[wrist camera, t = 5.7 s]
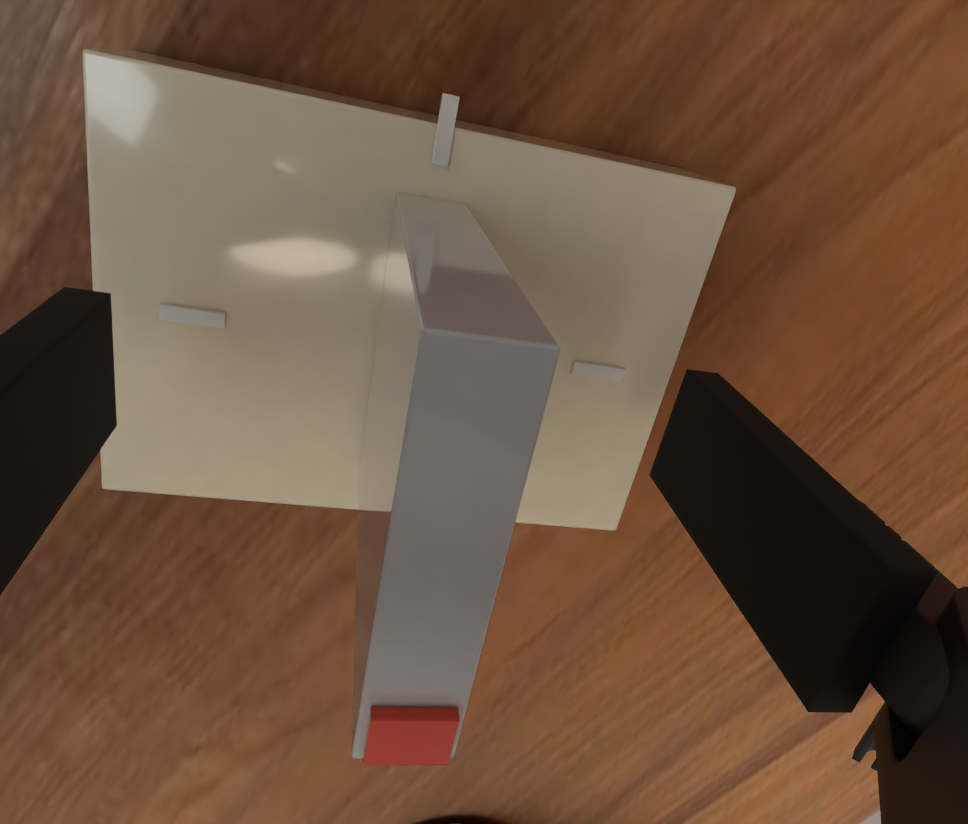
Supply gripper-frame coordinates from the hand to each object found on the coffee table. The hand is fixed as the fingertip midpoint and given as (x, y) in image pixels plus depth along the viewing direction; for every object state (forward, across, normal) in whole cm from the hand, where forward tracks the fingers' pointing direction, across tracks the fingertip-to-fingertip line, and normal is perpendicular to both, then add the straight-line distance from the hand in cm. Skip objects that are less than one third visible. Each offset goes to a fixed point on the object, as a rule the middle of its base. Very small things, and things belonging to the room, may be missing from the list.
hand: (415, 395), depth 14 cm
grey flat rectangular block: (+3, 0, 0) cm, 3 cm away
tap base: (+6, 0, 0) cm, 6 cm away
